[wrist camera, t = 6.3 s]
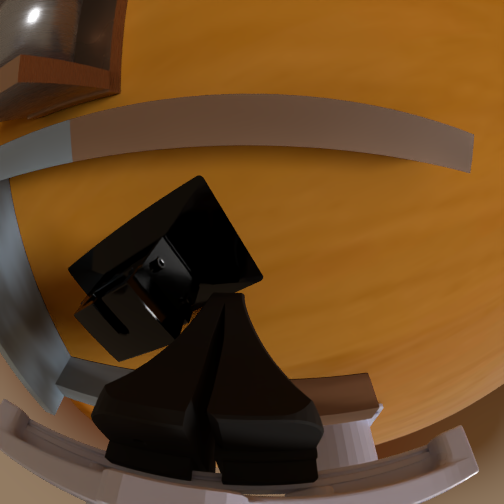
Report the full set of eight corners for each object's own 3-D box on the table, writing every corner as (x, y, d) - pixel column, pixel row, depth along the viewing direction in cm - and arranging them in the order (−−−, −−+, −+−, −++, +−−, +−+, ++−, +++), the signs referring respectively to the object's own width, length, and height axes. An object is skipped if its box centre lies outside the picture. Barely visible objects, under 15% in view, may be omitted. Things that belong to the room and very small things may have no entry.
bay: (361, 385, 17) (378, 442, 12) (69, 366, 17) (45, 411, 12) (431, 127, 9) (511, 143, 5) (-3, 153, 9) (-64, 177, 5)
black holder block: (223, 139, 10) (205, 148, 6) (300, 274, 13) (318, 340, 9) (54, 264, 13) (10, 309, 9) (126, 348, 16) (103, 402, 12)
